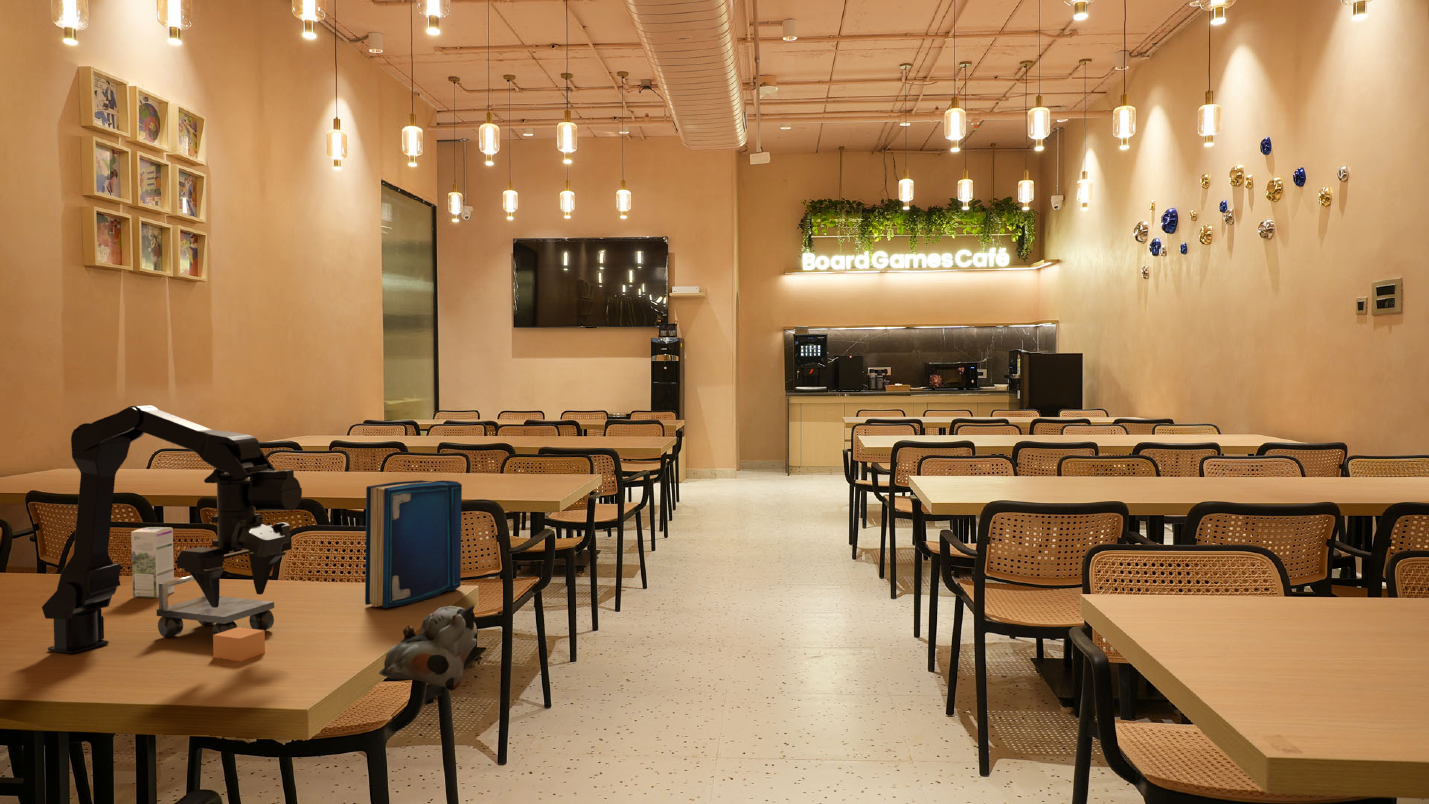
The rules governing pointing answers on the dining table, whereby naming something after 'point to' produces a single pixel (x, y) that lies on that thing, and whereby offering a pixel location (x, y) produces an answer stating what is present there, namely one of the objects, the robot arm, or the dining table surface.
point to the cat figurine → (434, 649)
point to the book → (412, 541)
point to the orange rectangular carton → (239, 644)
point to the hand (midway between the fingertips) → (238, 600)
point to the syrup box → (152, 560)
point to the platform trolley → (210, 612)
